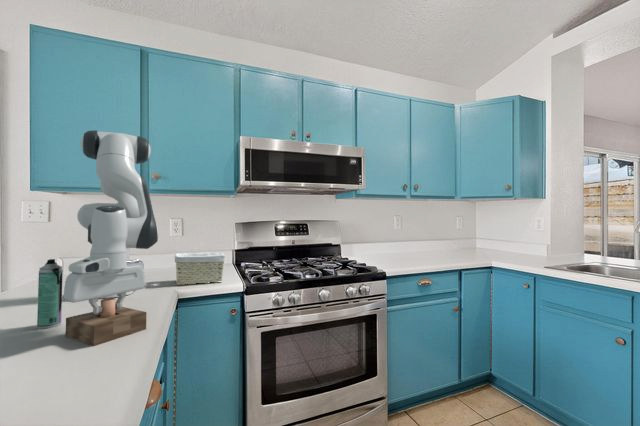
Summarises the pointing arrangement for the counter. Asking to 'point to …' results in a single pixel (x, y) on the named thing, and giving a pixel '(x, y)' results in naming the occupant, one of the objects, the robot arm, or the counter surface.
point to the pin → (108, 307)
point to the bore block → (105, 326)
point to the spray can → (49, 295)
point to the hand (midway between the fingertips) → (107, 311)
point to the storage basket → (199, 267)
